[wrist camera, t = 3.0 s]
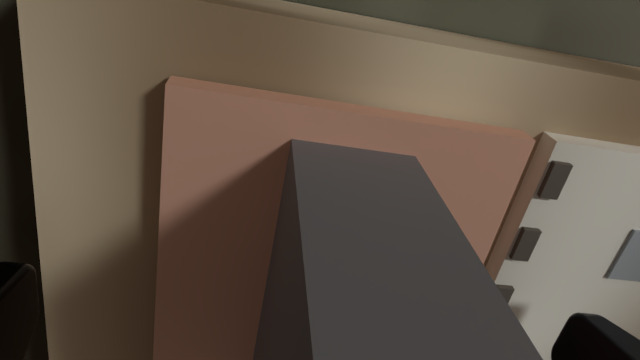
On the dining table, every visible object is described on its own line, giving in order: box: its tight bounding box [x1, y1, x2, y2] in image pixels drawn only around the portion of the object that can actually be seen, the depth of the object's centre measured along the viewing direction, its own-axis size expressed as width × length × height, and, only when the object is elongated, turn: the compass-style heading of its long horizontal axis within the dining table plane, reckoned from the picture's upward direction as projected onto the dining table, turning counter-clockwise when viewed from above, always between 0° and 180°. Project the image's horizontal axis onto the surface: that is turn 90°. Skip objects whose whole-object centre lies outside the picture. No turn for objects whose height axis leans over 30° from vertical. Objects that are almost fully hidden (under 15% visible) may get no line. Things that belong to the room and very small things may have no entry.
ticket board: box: [17, 0, 640, 360], centre depth 9 cm, size 16×8×2 cm, turn 79°
